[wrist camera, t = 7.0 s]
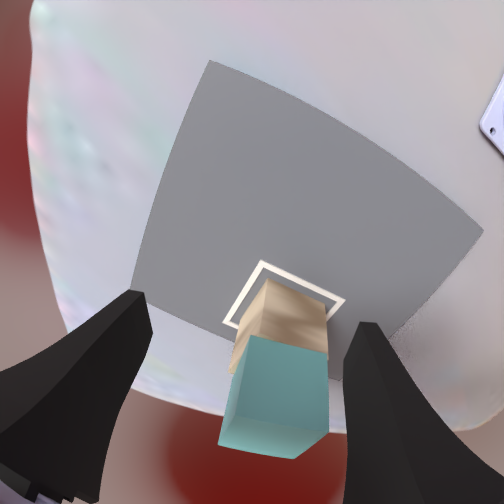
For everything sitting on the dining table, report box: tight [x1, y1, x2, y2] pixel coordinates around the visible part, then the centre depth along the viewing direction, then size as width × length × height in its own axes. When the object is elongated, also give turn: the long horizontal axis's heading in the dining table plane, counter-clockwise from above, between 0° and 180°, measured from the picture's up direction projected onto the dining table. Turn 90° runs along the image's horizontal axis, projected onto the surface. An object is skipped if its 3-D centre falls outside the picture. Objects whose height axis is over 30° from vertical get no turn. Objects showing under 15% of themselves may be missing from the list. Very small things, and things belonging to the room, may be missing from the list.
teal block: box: [218, 335, 329, 459], centre depth 15 cm, size 4×4×5 cm
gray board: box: [130, 60, 484, 381], centre depth 19 cm, size 20×18×1 cm
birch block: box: [228, 278, 329, 374], centre depth 19 cm, size 4×4×5 cm
